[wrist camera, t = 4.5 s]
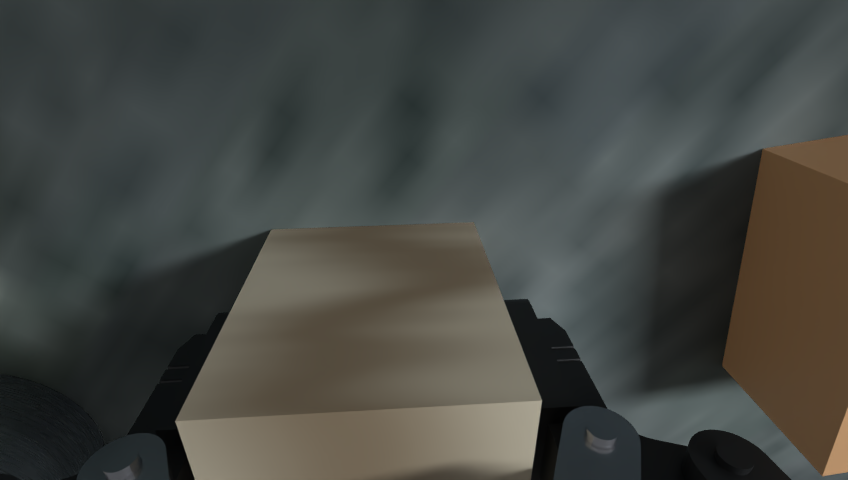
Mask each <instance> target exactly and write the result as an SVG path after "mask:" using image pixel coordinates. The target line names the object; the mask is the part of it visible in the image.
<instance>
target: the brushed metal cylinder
mask: <svg viewBox="0 0 848 480" xmlns="http://www.w3.org/2000/svg"><path fill="white" fill-rule="evenodd" d="M102 447H104V442H103V438H102V435H101V432H100V431H99V429H98V427H97V425H96V424H95V422H94V421H93V420H92V418H91V417H90V416H89V415H88V414H87V413H86V412H85V411H84V410H83V409H82V408H81V407H80V406H78V405H77V404H76V403H75V402H73V401H72V400H70V399H69V398H67V397H66V396H64V395H62V394H60V393H59V392H57V391H55V390H53V389H51V388H48V387H46V386H44V385H42V384H39V383H36V382H33V381H30V380H26V379H23V378H19V377H14V376H8V375H2V374H0V474H9V475H12V476H15V477H16V478H17V479H19V480H61V479H64V478H68V477H71V476H73V475H76V474H79V471H80V470H81V468H82V466H83V465H84V464H85V463H86V461H87V460H88V459H89V458H90V457H91V456H92V455H93V454H94V453H95V452H97V451H98V450H99V449H100V448H102Z"/></svg>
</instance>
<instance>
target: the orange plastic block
mask: <svg viewBox="0 0 848 480" xmlns="http://www.w3.org/2000/svg"><path fill="white" fill-rule="evenodd" d="M722 366H723V367H724V369H725V370H726V371H727V372H728V373H729V374H730V375H731V376H732V377H733V378H734V380H735V381H736V382H737V383H738V384H739V385H740V386H741V387H742V388H743V389H744V391H745V392H746V393H747V394H748V395H749V396H750V397H751V398H752V399H753V400H754V402H755V403H756V404H757V405H758V406H759V407H760V408H761V409H762V410H763V411H764V413H765V414H766V415H767V416H768V417H769V418H770V419H771V420H772V421H773V422H774V424H775V425H776V426H777V427H778V428H779V429H780V430H781V431H782V432H783V433H784V435H785V436H786V437H787V438H788V439H789V440H790V441H791V442H792V443H793V444H794V446H795V447H796V448H797V449H798V450H799V451H800V452H801V453H802V454H803V455H804V457H805V458H806V459H807V460H808V461H809V462H810V463H811V464H812V465H813V466H814V468H815V469H816V470H817V471H818V472H819V473H820V474H821V475H822V476H826V475H833V474H839V473H845V472H848V135H844V136H838V137H832V138H826V139H820V140H814V141H808V142H801V143H795V144H789V145H783V146H777V147H771V148H765V149H763V150H762V156H761V161H760V166H759V172H758V177H757V182H756V188H755V193H754V198H753V204H752V209H751V214H750V220H749V225H748V230H747V236H746V241H745V246H744V252H743V257H742V262H741V268H740V273H739V278H738V284H737V289H736V294H735V300H734V305H733V310H732V316H731V321H730V326H729V332H728V337H727V342H726V348H725V353H724V358H723V364H722Z"/></svg>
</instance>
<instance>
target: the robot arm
mask: <svg viewBox="0 0 848 480" xmlns="http://www.w3.org/2000/svg"><path fill="white" fill-rule="evenodd" d="M504 302H505V305H506V308H507V310H508V313H509V316H510V318H511V321H512V323H513V326H514V329H515V331H516V334H517V336H518V339H519V342H520V344H521V347H522V349H523V352H524V355H525V357H526V360H527V362H528V365H529V368H530V370H531V373H532V375H533V378H534V381H535V383H536V386H537V389H538V391H539V394H540V396H541V399H542V405H541V412H540V419H539V426H538V433H537V440H536V447H535V454H534V461H533V467H532V474H531V480H791V479H790V478H789V477H788V476H787V475H786V474H785V473H784V472H783V471H782V470H781V469H780V468H779V467H778V466H777V465H776V464H775V463H774V462H773V461H772V460H771V459H770V458H769V457H768V456H767V455H766V454H765V453H764V452H763V451H762V450H761V449H759V448H758V447H757V446H755V445H754V444H752V443H751V442H749V441H747V440H746V439H744V438H742V437H740V436H737V435H735V434H732V433H729V432H725V431H720V430H704V431H700V432H698V433H696V434H695V435H694V436H693V437H692V438H691V439H690V441H689V444H688V446H683V445H678V444H673V443H669V442H664V441H659V440H654V439H650V438H646V437H644V436H641V435H639V434H638V433H637V431H636V430H635V428H634V427H633V426H632V425H631V424H630V423H629V422H628V421H627V420H626V419H625V418H624V417H622V416H621V415H619V414H617V413H616V412H613V411H611V410H609V409H607V407H606V405H605V404H604V402H603V400H602V398H601V396H600V394H599V392H598V391H597V389H596V387H595V385H594V383H593V381H592V379H591V378H590V376H589V374H588V372H587V370H586V368H585V366H584V365H583V363H582V361H580V357H579V355H578V353H577V351H576V350H575V349H574V348H573V344H572V342H571V340H570V338H569V337H568V335H567V333H566V331H565V330H564V329H563V328H561V327H560V326H559V325H558V324H557V323H555V322H554V321H553V320H552V319H551V318H542V319H537V317H536V315H535V312H534V310H533V308H532V306H531V304H530V302H529V300H528V299H519V300H504ZM229 313H230V312H226V313H218V314H217V315H216V317H215V319H214V321H213V323H212V325H211V326H210V328H209V330H208V332H207V334H202V335H195V336H193V337H192V338H191V339H190V340H189V341H188V342H186V343H185V344H184V345H183V346H182V347H180V348H179V349H178V350H177V352H176V354H175V355H174V357H173V359H172V361H171V362H170V364H169V366H168V370H166V371H165V372H164V374H163V376H162V377H161V379H160V384H157V386H156V388H155V389H154V391H153V393H152V394H151V396H150V398H149V400H148V401H147V403H146V405H145V406H144V408H143V410H142V411H141V413H140V415H139V416H138V418H137V420H136V422H135V423H134V425H133V427H132V428H131V430H130V432H129V433H128V435H127V436H124V437H121V438H119V439H116V440H114V441H112V442H110V443H108V444H107V445H105V446H104V447H102V448H100V449H99V450H98V451H97V452H95V453H94V454H93V455H92V456H91V457H90V458H89V459H88V460H87V461H86V463H85V464H84V465H83V466H82V468H81V470H80V471H79V474H76V475H73V476H71V477H68V478H64V479H61V480H195V479H194V476H193V473H192V470H191V467H190V464H189V461H188V458H187V455H186V452H185V449H184V446H183V443H182V440H181V437H180V434H179V431H178V428H177V425H176V422H175V421H176V419H177V417H178V415H179V413H180V411H181V409H182V407H183V405H184V403H185V401H186V399H187V397H188V395H189V393H190V391H191V389H192V387H193V385H194V383H195V381H196V379H197V377H198V375H199V373H200V371H201V369H202V367H203V365H204V363H205V361H206V359H207V357H208V355H209V353H210V351H211V349H212V347H213V345H214V343H215V341H216V339H217V337H218V335H219V333H220V331H221V329H222V327H223V325H224V323H225V321H226V319H227V317H228V315H229ZM0 480H19V479H17V478H16V477H15V476H12V475H9V474H0Z"/></svg>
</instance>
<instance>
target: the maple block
mask: <svg viewBox="0 0 848 480" xmlns="http://www.w3.org/2000/svg"><path fill="white" fill-rule="evenodd" d="M541 405H542V399H541V396H540V394H539V391H538V389H537V386H536V383H535V381H534V378H533V375H532V373H531V370H530V368H529V365H528V362H527V360H526V357H525V355H524V352H523V349H522V347H521V344H520V342H519V339H518V336H517V334H516V331H515V329H514V326H513V323H512V321H511V318H510V316H509V313H508V310H507V308H506V305H505V302H504V300H503V297H502V295H501V292H500V289H499V287H498V284H497V282H496V279H495V276H494V274H493V271H492V269H491V266H490V263H489V261H488V258H487V256H486V253H485V250H484V248H483V245H482V242H481V240H480V237H479V235H478V232H477V229H476V227H475V224H474V222H470V223H442V224H413V225H385V226H357V227H328V228H300V229H272V230H271V231H270V233H269V235H268V237H267V239H266V241H265V243H264V245H263V247H262V249H261V251H260V253H259V255H258V257H257V259H256V261H255V263H254V265H253V267H252V269H251V271H250V273H249V275H248V277H247V279H246V281H245V283H244V285H243V287H242V289H241V291H240V293H239V295H238V297H237V299H236V301H235V303H234V305H233V307H232V309H231V311H230V313H229V315H228V317H227V319H226V321H225V323H224V325H223V327H222V329H221V331H220V333H219V335H218V337H217V339H216V341H215V343H214V345H213V347H212V349H211V351H210V353H209V355H208V357H207V359H206V361H205V363H204V365H203V367H202V369H201V371H200V373H199V375H198V377H197V379H196V381H195V383H194V385H193V387H192V389H191V391H190V393H189V395H188V397H187V399H186V401H185V403H184V405H183V407H182V409H181V411H180V413H179V415H178V417H177V419H176V421H175V422H176V425H177V428H178V431H179V434H180V437H181V440H182V443H183V446H184V449H185V452H186V455H187V458H188V461H189V464H190V467H191V470H192V473H193V476H194V479H195V480H531V474H532V467H533V461H534V454H535V447H536V440H537V433H538V426H539V419H540V412H541Z"/></svg>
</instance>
